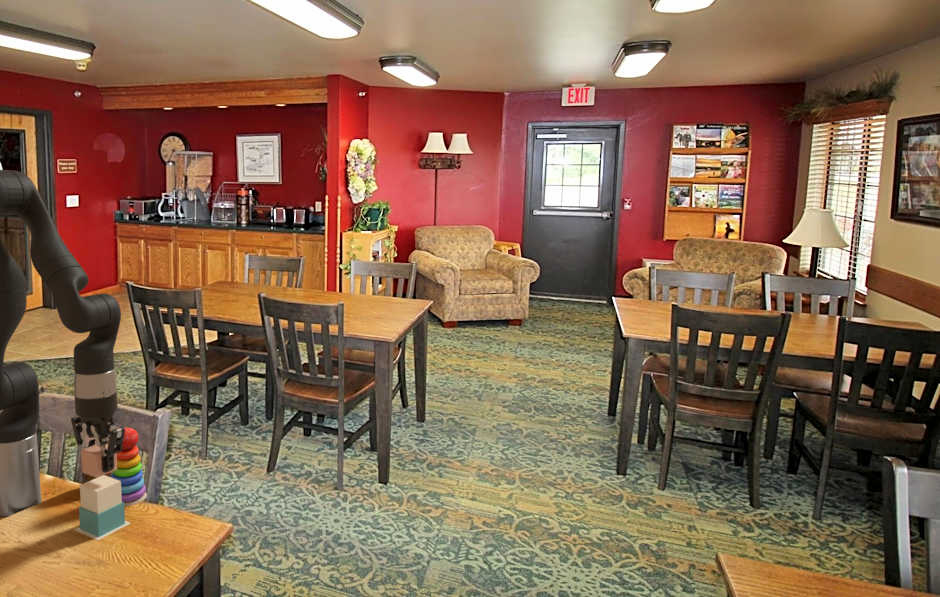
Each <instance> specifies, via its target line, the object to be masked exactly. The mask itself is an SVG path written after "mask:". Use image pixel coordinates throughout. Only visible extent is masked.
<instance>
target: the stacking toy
mask: <svg viewBox="0 0 940 597" xmlns="http://www.w3.org/2000/svg"><path fill="white" fill-rule="evenodd" d="M124 428H125V434H124V439H123V445H122V451H121V452H118V453H117V470H114V471H112V475H111V478H113V479H116V480H119V481H121V495H122V502H124V508H125V507H131V506H135V505H137V504H140V503H142V502H143V501H144V500H145V499H147V497H148V494H147V492H146V491H147V487H146V485H145V479H144V478H143V475H144V472H143V470H142V467H143V465H142V463H141V459H142V457H141V455H139V452H140V450H139V447H138V446H137V444H138V442H139V437H140V436H139V434H138V432H137V430H136V429H134V428H131V427H124ZM115 447H116V445H115Z"/></svg>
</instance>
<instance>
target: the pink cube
mask: <svg viewBox="0 0 940 597" xmlns="http://www.w3.org/2000/svg"><path fill="white" fill-rule="evenodd" d="M105 447H106V450H107V449H108V444H106V445H105ZM80 455H81V456H80V458H81V462H82V465H81V473H82V472H83V473H85V474H88V475H91V476H93V477H96V478H98V477H100V476H103V475H105V474H107V473H110V472H112V471H114V470H117V453H116V454H114V469H113V470H111V471H109V472H106V473H105V472H103V471H102V457H101V456H102V454H101V450H100V447H99V446H97V445H93V446H91V447H88V448H85V449H83V448H82V449H80ZM112 473H113V472H112Z"/></svg>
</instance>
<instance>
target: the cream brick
mask: <svg viewBox="0 0 940 597" xmlns="http://www.w3.org/2000/svg"><path fill="white" fill-rule="evenodd" d="M79 496H80V507H82V508H85V509H87V510H90V511H92V512H94V513H97V514H99V513H101V512H103V511H106V510H108V509H110V508H112V507H114V506H116V505H118V504H120V503H122V495H121V481H119V480H116V479H113V478H111V477H108V476H105V475H103V476H100V477H98V478H96V479H93V480H91V481H89V482H86V483H84V484H82V483H81V484H79Z"/></svg>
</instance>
